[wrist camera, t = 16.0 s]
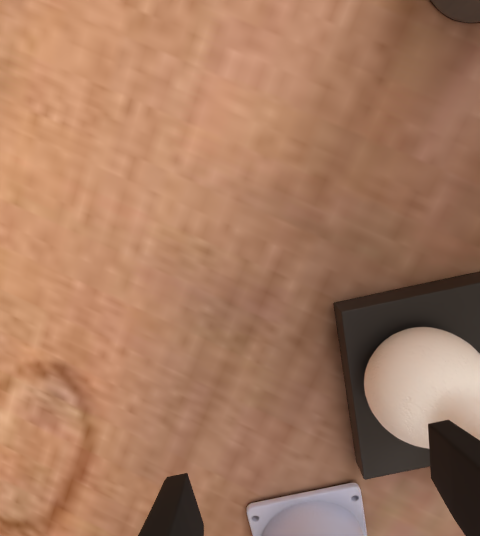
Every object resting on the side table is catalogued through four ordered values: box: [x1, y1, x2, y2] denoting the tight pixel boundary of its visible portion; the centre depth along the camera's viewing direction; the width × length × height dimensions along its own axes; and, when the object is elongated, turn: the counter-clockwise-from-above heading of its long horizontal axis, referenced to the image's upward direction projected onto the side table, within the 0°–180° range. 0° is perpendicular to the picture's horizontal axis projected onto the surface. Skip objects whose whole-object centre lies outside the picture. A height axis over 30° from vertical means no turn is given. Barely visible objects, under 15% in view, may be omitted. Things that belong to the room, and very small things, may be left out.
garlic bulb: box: [364, 327, 480, 449], centre depth 16 cm, size 6×6×8 cm
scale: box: [334, 272, 480, 479], centre depth 20 cm, size 13×11×3 cm
